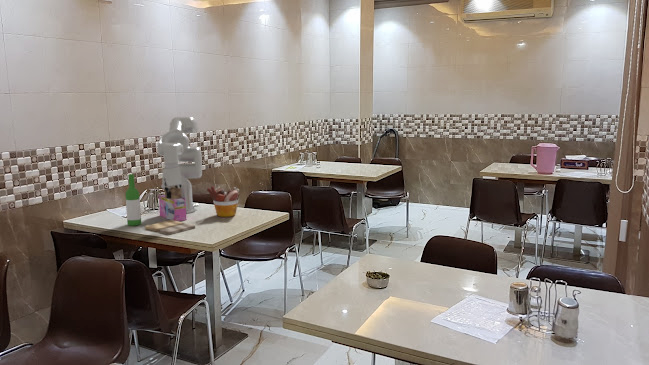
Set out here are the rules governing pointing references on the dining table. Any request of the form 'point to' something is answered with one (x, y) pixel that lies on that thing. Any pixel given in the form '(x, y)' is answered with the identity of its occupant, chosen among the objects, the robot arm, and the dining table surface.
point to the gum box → (172, 208)
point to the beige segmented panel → (162, 225)
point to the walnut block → (174, 193)
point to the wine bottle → (133, 203)
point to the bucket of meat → (224, 201)
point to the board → (177, 228)
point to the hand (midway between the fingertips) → (173, 197)
